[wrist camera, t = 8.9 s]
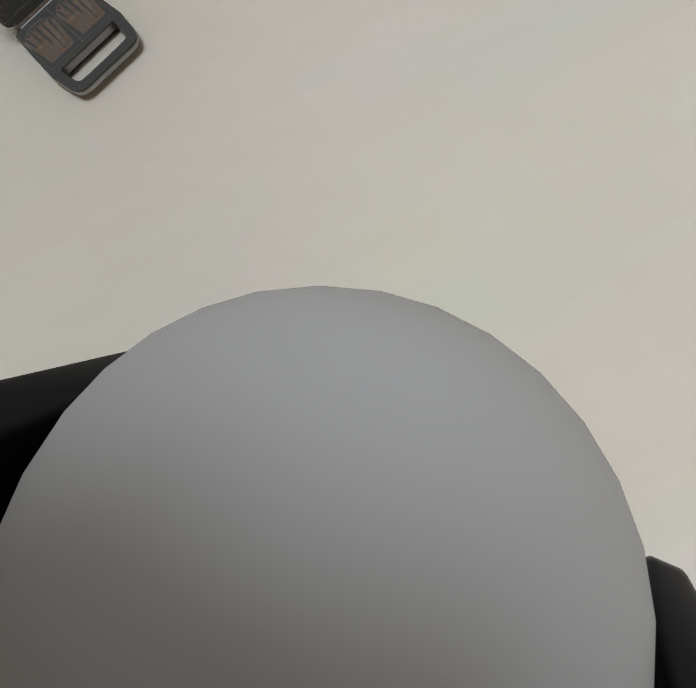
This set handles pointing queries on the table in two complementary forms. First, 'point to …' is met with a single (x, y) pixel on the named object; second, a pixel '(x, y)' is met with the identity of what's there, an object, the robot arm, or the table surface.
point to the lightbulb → (322, 514)
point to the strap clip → (69, 36)
